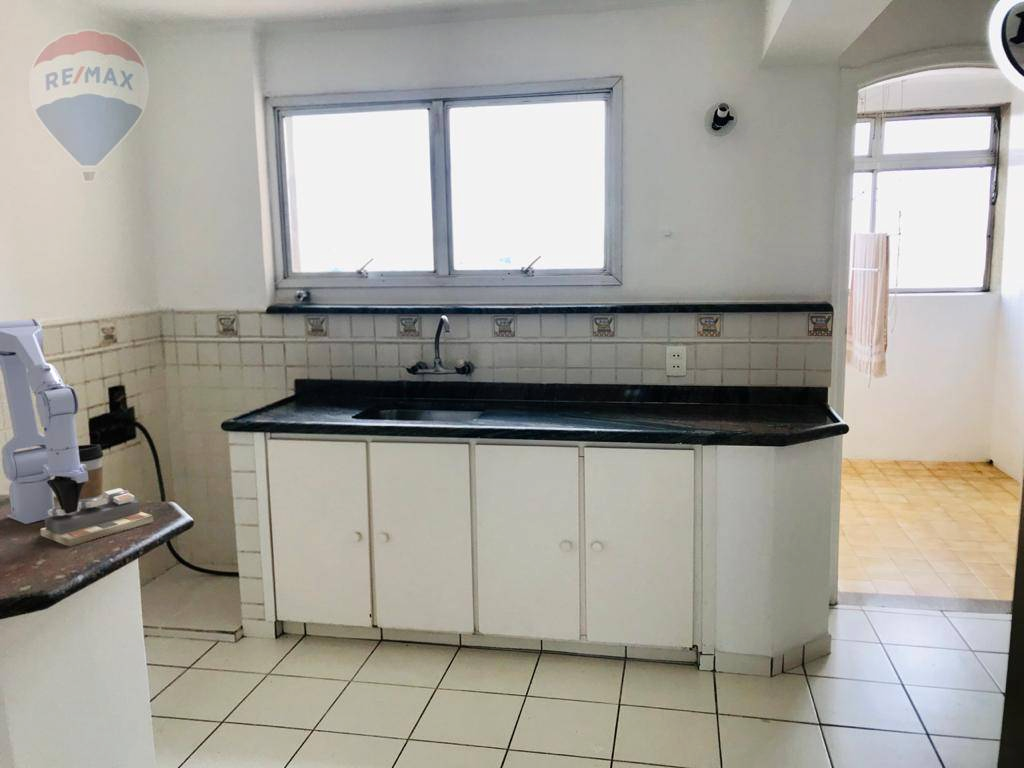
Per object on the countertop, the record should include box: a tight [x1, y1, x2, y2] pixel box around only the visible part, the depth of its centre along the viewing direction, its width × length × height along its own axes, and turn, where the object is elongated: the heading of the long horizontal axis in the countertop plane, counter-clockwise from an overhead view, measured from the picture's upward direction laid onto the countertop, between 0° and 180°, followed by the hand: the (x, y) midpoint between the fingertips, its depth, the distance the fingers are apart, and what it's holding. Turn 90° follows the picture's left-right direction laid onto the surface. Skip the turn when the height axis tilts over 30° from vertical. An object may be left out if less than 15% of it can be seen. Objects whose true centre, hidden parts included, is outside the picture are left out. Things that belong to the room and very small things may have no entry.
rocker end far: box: [103, 487, 136, 504], centre depth 181 cm, size 6×4×2 cm, turn 54°
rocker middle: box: [78, 496, 109, 510], centre depth 176 cm, size 6×4×2 cm, turn 54°
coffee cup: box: [78, 443, 104, 509], centre depth 188 cm, size 8×8×15 cm
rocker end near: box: [48, 506, 80, 517], centre depth 171 cm, size 6×4×2 cm, turn 54°
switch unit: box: [39, 499, 154, 547], centre depth 175 cm, size 12×18×4 cm, turn 144°
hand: (69, 511), depth 169 cm, fingers closed, pressing on rocker end near
